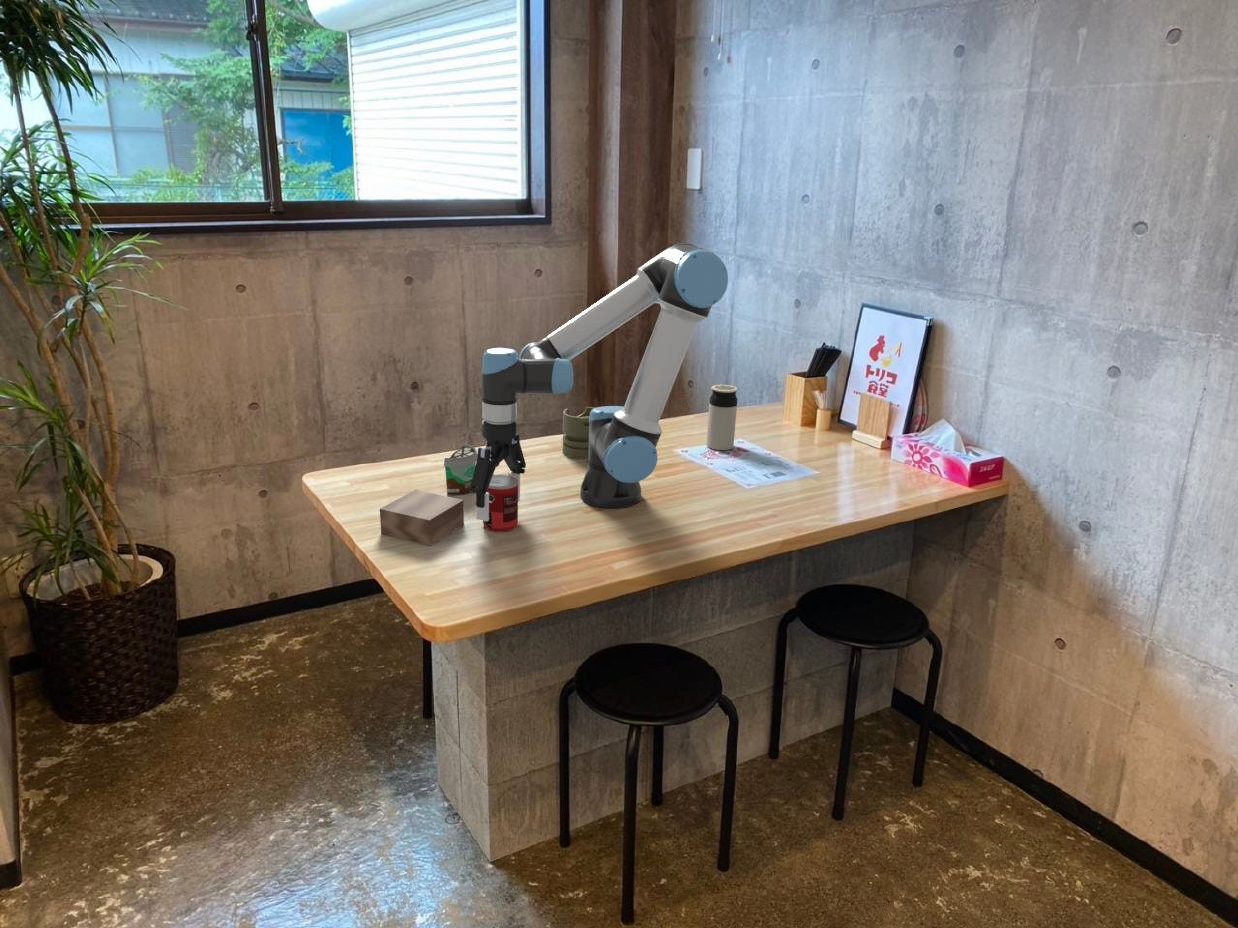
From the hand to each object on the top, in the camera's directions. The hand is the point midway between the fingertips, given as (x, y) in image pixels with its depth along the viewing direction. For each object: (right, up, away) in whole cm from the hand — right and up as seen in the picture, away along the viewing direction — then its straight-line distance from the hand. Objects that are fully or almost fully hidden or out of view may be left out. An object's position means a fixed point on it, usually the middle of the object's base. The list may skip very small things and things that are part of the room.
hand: (498, 509), depth 200 cm
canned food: (0, -4, +1) cm, 4 cm away
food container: (-11, +4, +21) cm, 25 cm away
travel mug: (+57, +15, +61) cm, 85 cm away
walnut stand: (-17, -4, -2) cm, 17 cm away
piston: (+17, +13, +51) cm, 56 cm away
